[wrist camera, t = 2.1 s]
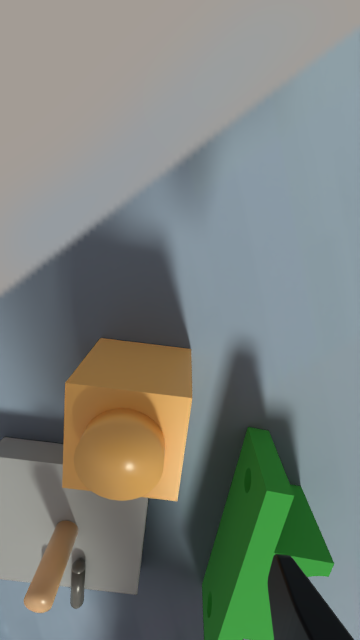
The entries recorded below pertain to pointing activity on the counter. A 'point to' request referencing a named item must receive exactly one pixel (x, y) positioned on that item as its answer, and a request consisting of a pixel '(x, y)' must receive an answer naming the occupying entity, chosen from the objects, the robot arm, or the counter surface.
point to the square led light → (127, 420)
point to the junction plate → (63, 529)
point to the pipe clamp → (257, 543)
